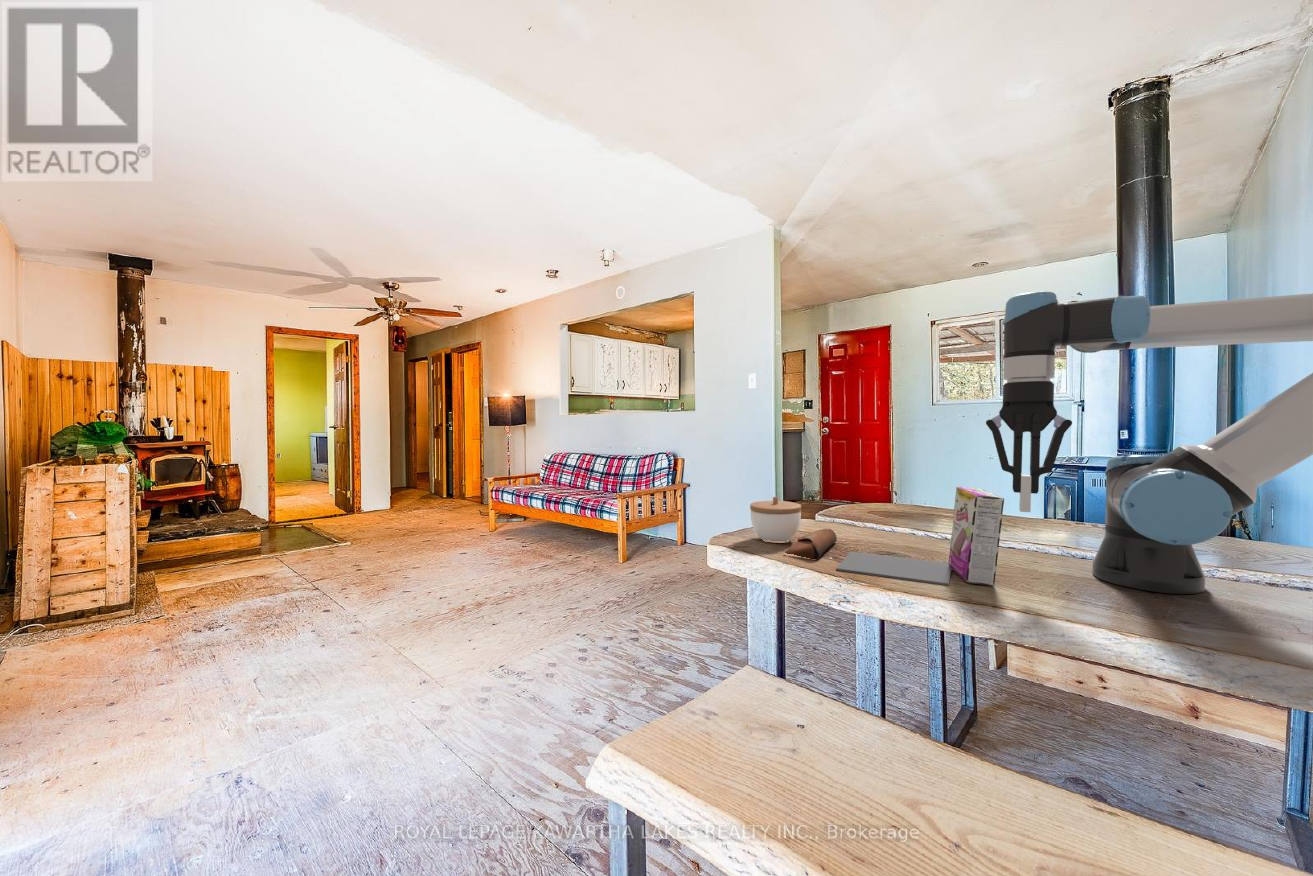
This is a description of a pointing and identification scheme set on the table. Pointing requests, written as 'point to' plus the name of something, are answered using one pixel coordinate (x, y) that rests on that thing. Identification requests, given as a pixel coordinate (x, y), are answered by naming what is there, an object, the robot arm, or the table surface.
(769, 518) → the lidded bowl
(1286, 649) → the table surface
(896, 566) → the mat
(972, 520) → the candy bar box
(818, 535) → the sunglasses case
